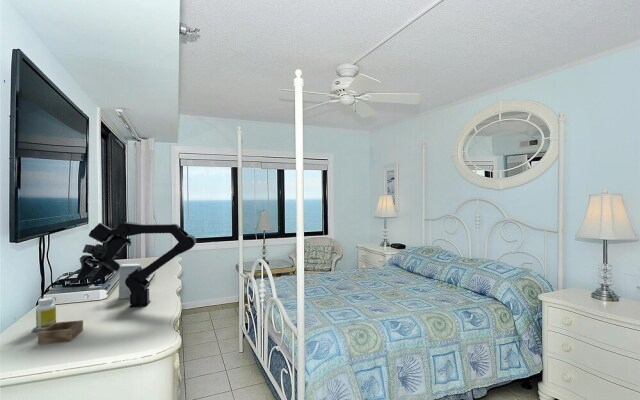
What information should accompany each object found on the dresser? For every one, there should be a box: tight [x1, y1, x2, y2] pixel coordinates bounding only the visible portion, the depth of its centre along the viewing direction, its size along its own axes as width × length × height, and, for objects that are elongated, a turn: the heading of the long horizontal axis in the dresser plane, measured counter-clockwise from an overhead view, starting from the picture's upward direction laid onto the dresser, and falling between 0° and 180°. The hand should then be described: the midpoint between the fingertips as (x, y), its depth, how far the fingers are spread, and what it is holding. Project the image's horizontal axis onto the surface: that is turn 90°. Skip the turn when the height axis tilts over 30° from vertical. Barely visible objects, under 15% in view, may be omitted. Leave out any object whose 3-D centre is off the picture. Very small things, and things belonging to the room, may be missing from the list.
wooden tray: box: [37, 319, 84, 345], centre depth 109 cm, size 9×9×4 cm
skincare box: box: [118, 263, 143, 300], centre depth 153 cm, size 8×6×15 cm
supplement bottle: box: [35, 297, 57, 329], centre depth 117 cm, size 5×5×10 cm
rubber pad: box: [32, 326, 43, 333], centre depth 117 cm, size 7×7×1 cm
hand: (83, 281), depth 128 cm, fingers open, 9 cm apart
